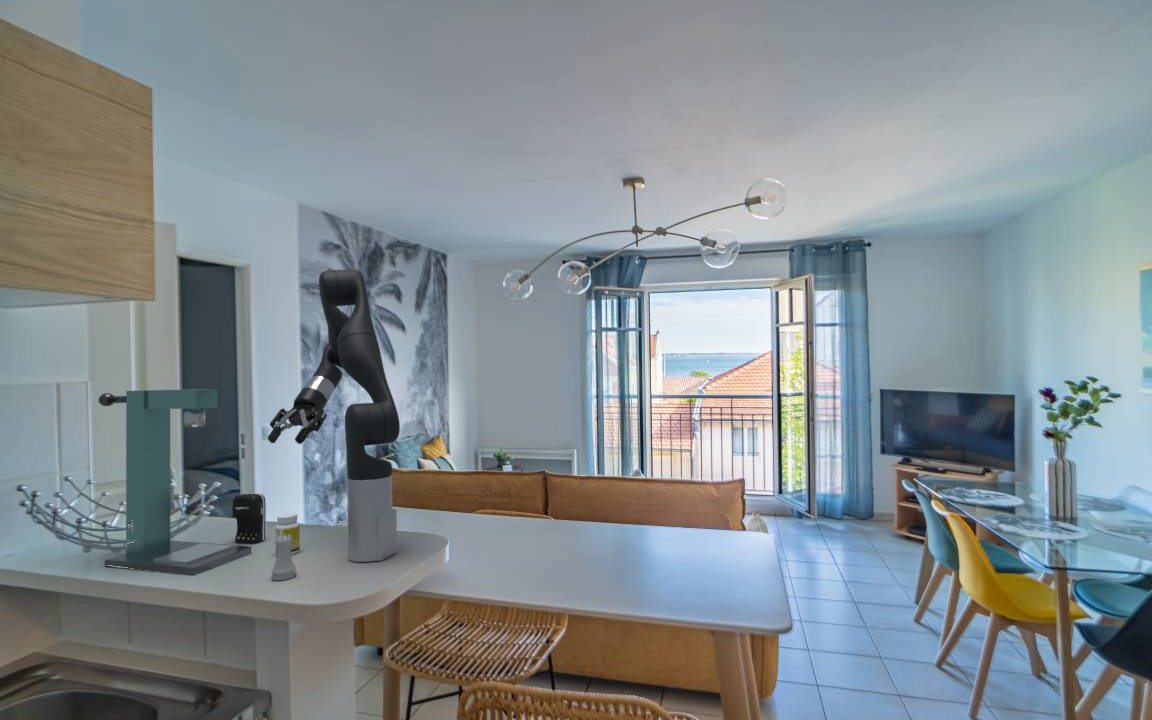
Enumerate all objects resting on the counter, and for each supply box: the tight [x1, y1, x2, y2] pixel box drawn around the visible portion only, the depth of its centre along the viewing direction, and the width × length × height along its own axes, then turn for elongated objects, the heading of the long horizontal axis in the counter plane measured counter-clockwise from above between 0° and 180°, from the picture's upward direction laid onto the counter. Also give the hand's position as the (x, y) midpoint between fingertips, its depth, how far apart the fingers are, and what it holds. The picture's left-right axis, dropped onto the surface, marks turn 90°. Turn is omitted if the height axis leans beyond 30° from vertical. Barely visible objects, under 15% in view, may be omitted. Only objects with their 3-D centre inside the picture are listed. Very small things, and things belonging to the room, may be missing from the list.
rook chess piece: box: [270, 535, 297, 582], centre depth 110 cm, size 4×4×8 cm
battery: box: [231, 492, 267, 544], centre depth 134 cm, size 7×4×11 cm, turn 79°
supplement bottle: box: [275, 512, 301, 556], centre depth 125 cm, size 5×5×8 cm
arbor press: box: [98, 388, 252, 576], centre depth 124 cm, size 35×14×37 cm, turn 75°
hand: (284, 441), depth 146 cm, fingers open, 8 cm apart
